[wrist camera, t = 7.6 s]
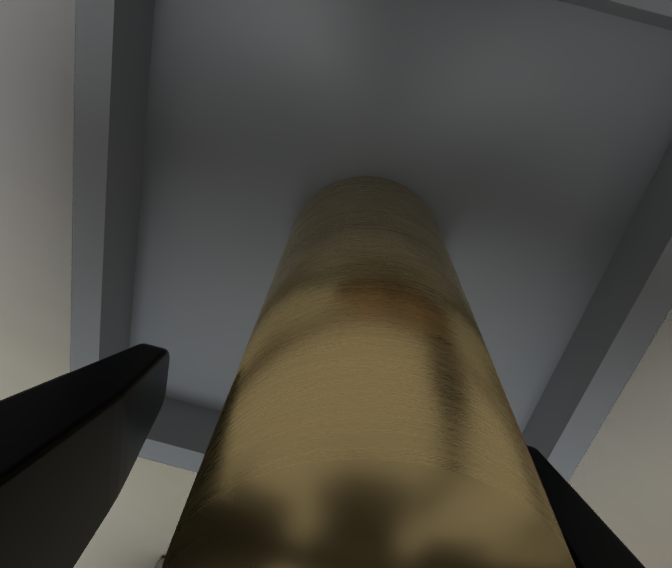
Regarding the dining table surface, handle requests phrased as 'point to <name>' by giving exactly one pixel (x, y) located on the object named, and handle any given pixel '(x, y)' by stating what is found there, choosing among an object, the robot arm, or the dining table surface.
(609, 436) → the dining table surface
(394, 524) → the pin
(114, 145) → the tray
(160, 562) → the coffee box
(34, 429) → the robot arm
